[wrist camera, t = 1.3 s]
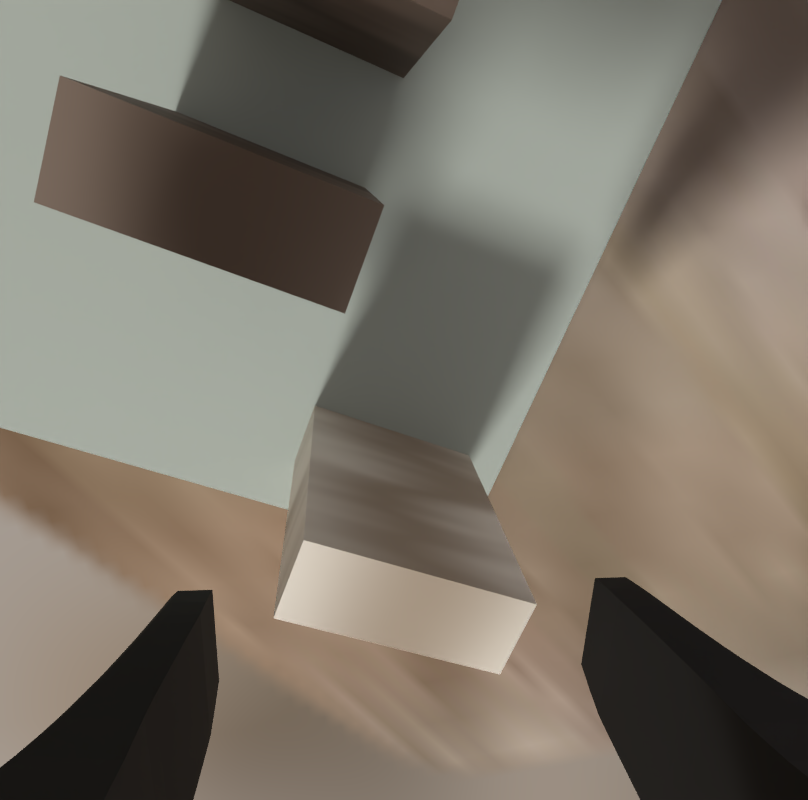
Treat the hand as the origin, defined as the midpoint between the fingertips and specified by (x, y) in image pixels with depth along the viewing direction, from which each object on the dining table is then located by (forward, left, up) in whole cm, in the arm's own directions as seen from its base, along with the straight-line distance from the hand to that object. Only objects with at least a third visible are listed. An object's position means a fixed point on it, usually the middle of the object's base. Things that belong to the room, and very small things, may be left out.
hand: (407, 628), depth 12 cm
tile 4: (+5, -6, -8) cm, 11 cm away
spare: (0, 0, -8) cm, 8 cm away
